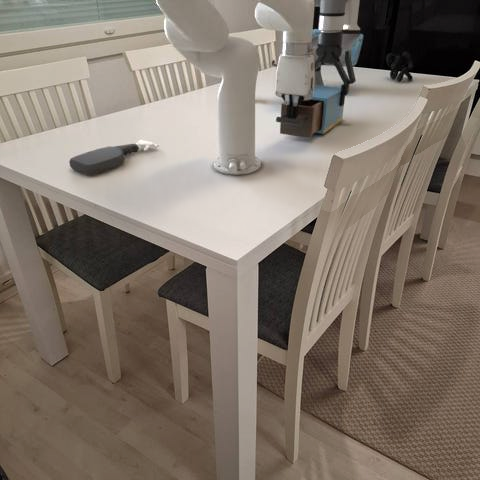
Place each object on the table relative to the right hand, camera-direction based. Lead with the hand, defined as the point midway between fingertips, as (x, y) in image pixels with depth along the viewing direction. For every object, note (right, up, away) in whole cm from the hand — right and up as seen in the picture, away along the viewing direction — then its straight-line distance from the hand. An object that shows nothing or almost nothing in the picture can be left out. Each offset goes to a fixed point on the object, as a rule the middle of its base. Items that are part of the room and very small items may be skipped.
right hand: (324, 103), depth 149 cm
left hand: (-13, -11, -21) cm, 27 cm away
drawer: (-9, -12, -12) cm, 19 cm away
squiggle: (+44, +26, +52) cm, 73 cm away
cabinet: (-3, -7, -1) cm, 8 cm away
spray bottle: (-63, -23, -24) cm, 71 cm away
